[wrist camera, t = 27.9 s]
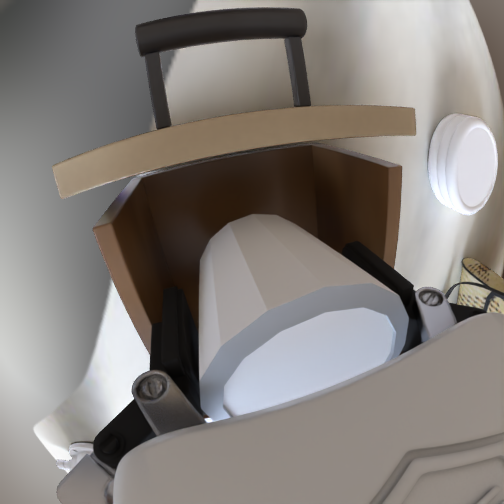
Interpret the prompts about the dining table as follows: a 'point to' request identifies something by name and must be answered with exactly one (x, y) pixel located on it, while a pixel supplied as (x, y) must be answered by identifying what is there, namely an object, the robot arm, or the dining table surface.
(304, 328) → the white cylinder
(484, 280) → the clutch purse
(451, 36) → the dining table surface
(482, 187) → the white round disc
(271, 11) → the drawer
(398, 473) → the robot arm
